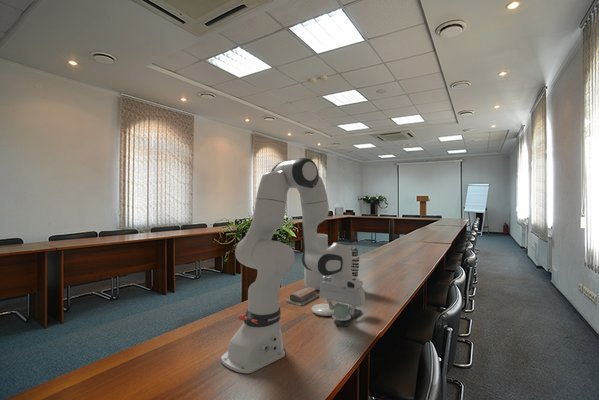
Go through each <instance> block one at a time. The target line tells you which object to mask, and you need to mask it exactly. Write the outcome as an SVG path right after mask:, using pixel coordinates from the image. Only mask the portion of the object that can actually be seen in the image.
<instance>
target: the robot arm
mask: <svg viewBox="0 0 599 400" xmlns="http://www.w3.org/2000/svg"><path fill="white" fill-rule="evenodd" d="M259 181H260V182H259V185H258V188H257V192H256V199H255V202H254V203H255V204H254V211H253V217H252V220H251V224H250V226H249V228H248V230H247V232H246V234H245V236H243V238H242V239H241V240H240V241H239V242H238V243H237V244H236V247H235V250H234V256H235V258H236V260H237V262H238V263H240V264H242V265H243V266H245V267H248V268H251V269H253V270H257V275H256V279H255V280H254V282H252V283H251V284H249V287H248V290H247V308H246V312H245V314H243V313H239V315H238V319H239V321H243V323H242V324H241V325H240V327H239V328H238V330H237V331H236V332H235V334H234V335H233V336H232V338H231V339H230V340H229V344H228V350H227V351H226V352H224V354H222V355H221V357H220V361H221V363H222V364H223V365H224V366H225V367H226V368H228V369H229V370H232V371H234V372H238V373H241V374H251V373H254V372H256V371H258V370H260V369H263V368H264V367H266V366H269V365H270V364H272V363H274V362H276V361H279V360H280V359H283V358H284V357H285V356H286V352H285V350H284V348H285V347H284V342H283V334H282V327H281V324H280V320H281V314H282V313H281V308H280V289H281V284H282V281H283V278H284V277H285V275H286V274H287V273H288V272H290V271H291V270H292V268H293V267H294V264H295V260H296V256H295V255H296V254H295V250H294V249H293V248H292V247H291V246H290V245H288V244H286V243H283V242H282V241H278V240H272V239H273V236H274V235H275V232H277V230H278V229H280V228H281V227H282V226H283V224H284V222H285V215H286V208H287V207H286V206H287V198H288V197H287V195H288V192H289V189H297V191H298V193H299V198H300V199H299V200H300V206H301V214H302V217H301V218H302V219H301V227H302V228H301V230H302V243H303V250H302V254H301V255H302V256H301V263H302V266H303V267H304V268H306V269H308V270H311V271H314V272H316V273H319V274H321V275H324V276H328V277H323V278H321V286H320V290H319V297H320V298H322V299H325V300H326V302H327V304H329V309H330V310H333V309H334V305H335V304H333V303H332V302H333V301H334V302H337V303H338V302H341V303H345V304H350V305H351V306H350V307H351V308H352V309H350V310H349V315H353V314H354V310H355V309H357V307H359V308H360V307H362V306H363V305H364V304H365V303H366V295H365V294H366V293H365V290H364V289H365V288H364V287H363V285H364V281H363V280H362V279H360V278H359V277H358V278H356V277H354V276H353V275H352V271H351V265H352V251H351V247H352V246H351V245H350V244H348V243H345V242H339V241H334V242H333V243H332V244H331V245H330V246H328V249H326V250H323V251H322V250H320V248H319V247H318V242H317V234H318V226H319V225H320V224H321V223H323V222H324V221H325V220H326V219H327V218H328V216H329V213H330V212H329V209H330V207H329V206H330V205H329V200H328V194H327V190H326V186H325V183H324V181H323V179H322V177H321V176H320V175H319V169H318V166H317V164H316V163H315V162H314V160H312V159H311V158H308V157H300V158H296V159H295V158H294V159H291V158H290V159H288V160H284V161H280V162H278V163H276V164H275V165H274V166H273V167H272V168H271V170H270V171H267V172H265V173H264V174H263V175H262V176H261V178H260V180H259Z"/></svg>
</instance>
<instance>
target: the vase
mask: <svg viewBox="0 0 599 400" xmlns="http://www.w3.org/2000/svg"><path fill="white" fill-rule="evenodd" d="M317 242H318V247H319V248H320V250H322V251H323V250H326V249H328V248H329V243H328V242H329V237H328V234H325V233H317ZM303 271H304V274H303V275H304V278H303V279H304V288H306V287H310V288H314V289H316V291H320V286H321V278H323V277H329V276H324V275H321V274H319V273H316V272H314V271H311V270H308V269H306V268H305V267H304V270H303Z"/></svg>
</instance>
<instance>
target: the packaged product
mask: <svg viewBox="0 0 599 400" xmlns="http://www.w3.org/2000/svg"><path fill="white" fill-rule="evenodd" d="M318 297H320V294H317V290H316V289H314V288H310V287H303V288H301V289H299V290H297V291H293V292H292V293H290V294H289V297H288V298H285V300H284V301H285V303H289V304H292V305H296V306H297V307H298V306H299V307H302V306H303V305H305V304H307V303H309V302H312V301H313V300H316V298H318Z"/></svg>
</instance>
